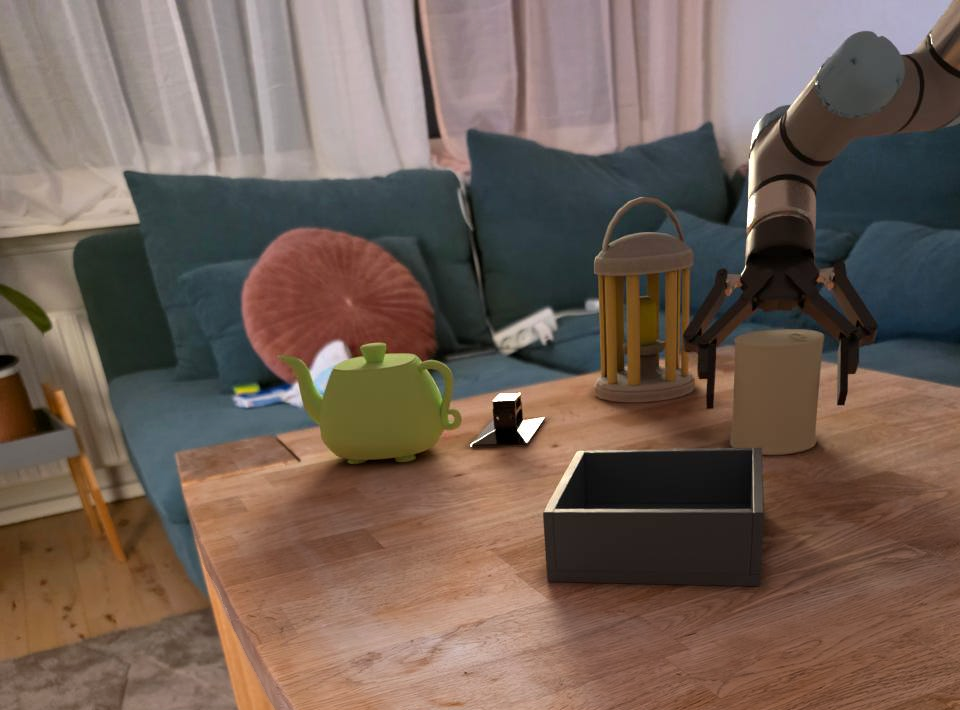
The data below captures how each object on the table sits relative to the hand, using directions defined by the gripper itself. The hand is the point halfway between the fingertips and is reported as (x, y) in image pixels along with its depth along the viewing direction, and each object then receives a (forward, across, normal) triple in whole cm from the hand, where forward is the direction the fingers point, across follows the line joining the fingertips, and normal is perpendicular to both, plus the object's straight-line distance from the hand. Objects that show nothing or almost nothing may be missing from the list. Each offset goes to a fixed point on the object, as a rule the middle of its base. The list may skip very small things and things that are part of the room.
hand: (774, 400), depth 96 cm
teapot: (+3, +47, -4) cm, 47 cm away
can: (+2, 0, -5) cm, 6 cm away
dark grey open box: (+24, +10, +16) cm, 30 cm away
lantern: (-17, +17, -25) cm, 35 cm away
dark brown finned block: (-2, +32, -10) cm, 34 cm away
